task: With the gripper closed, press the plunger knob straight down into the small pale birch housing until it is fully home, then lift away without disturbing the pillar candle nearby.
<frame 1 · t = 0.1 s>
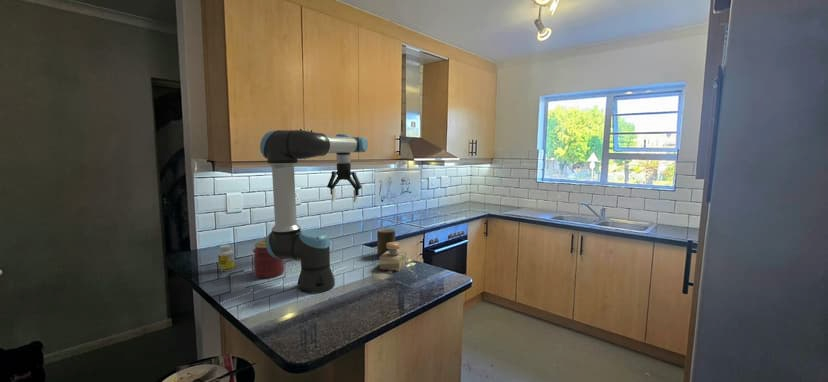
hand: (344, 201, 193), 28 cm above the counter, tool pointing down, fingers open, 13 cm apart
pillar candle: (386, 255, 188), on the counter
canister: (269, 273, 161), on the counter
knob: (392, 251, 169), point 8 cm above the counter, slide at 0.0 cm
pill bottle: (227, 270, 166), on the counter
housing: (393, 266, 170), on the counter
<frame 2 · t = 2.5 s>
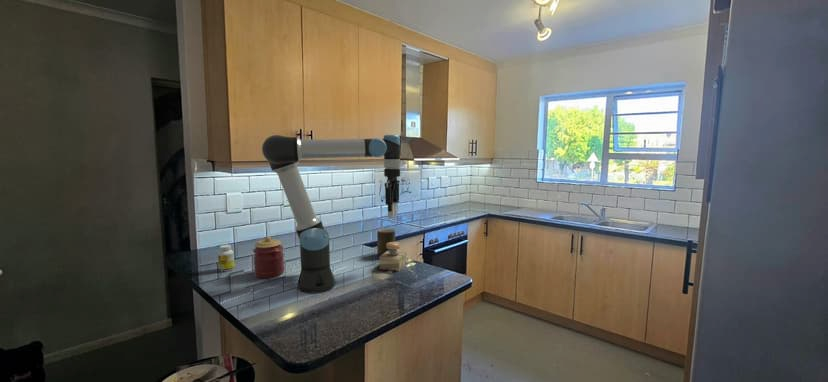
hand: (392, 216, 166), 25 cm above the counter, tool pointing down, fingers open, 4 cm apart
nothing on the counter moved.
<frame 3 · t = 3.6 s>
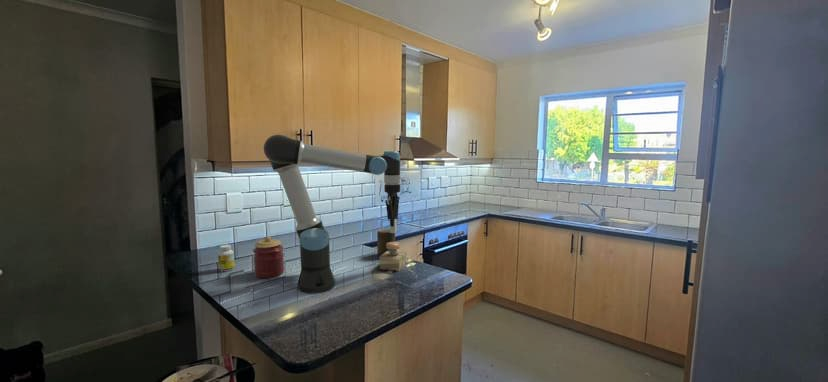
hand: (393, 232, 167), 17 cm above the counter, tool pointing down, fingers closed
nothing on the counter moved.
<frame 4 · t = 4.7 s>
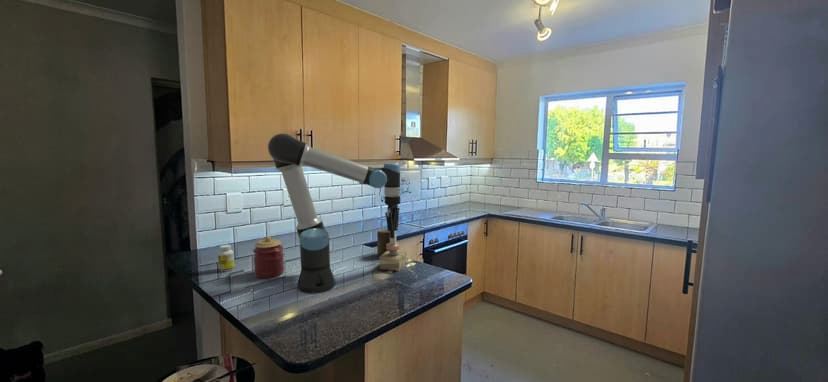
hand: (393, 243, 168), 11 cm above the counter, tool pointing down, fingers closed
knob: (392, 252, 169), point 7 cm above the counter, slide at 0.4 cm, touching gripper
everything else where it was.
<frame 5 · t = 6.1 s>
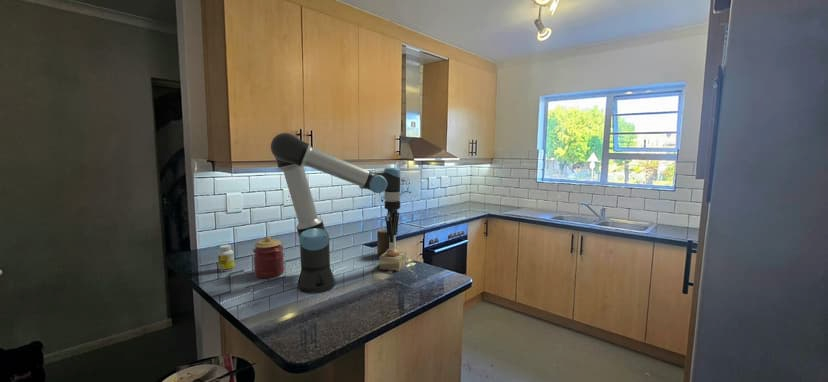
hand: (392, 248, 168), 9 cm above the counter, tool pointing down, fingers closed
knob: (393, 257, 169), point 4 cm above the counter, slide at 3.3 cm
everything else where it was.
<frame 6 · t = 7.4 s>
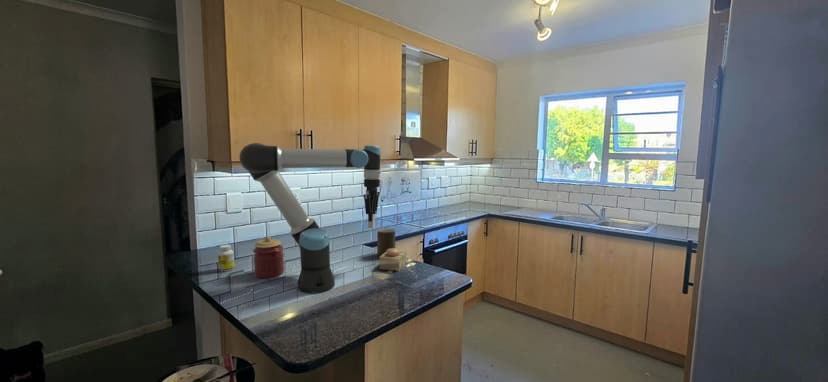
hand: (371, 227, 166), 20 cm above the counter, tool pointing down, fingers closed
nothing on the counter moved.
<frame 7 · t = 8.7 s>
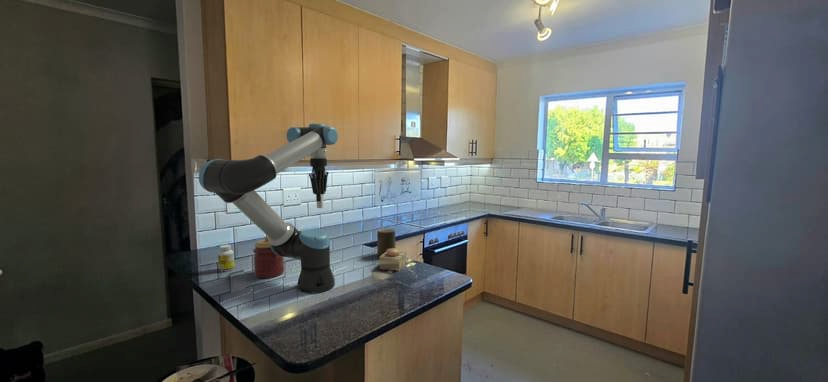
hand: (320, 207, 164), 29 cm above the counter, tool pointing down, fingers closed
nothing on the counter moved.
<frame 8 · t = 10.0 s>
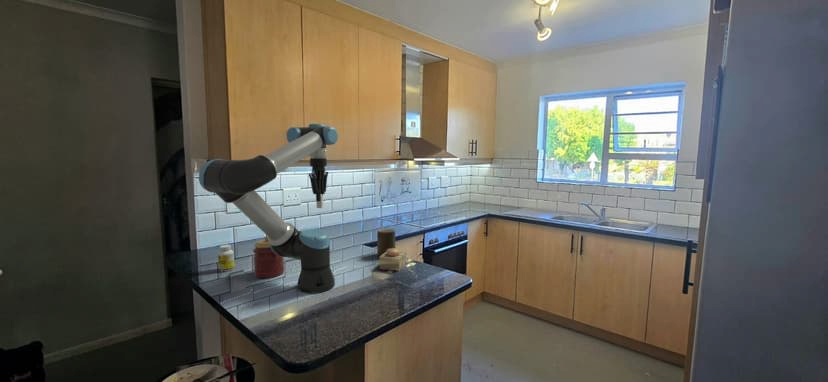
hand: (320, 207, 164), 29 cm above the counter, tool pointing down, fingers closed
nothing on the counter moved.
at the end: knob slide at 3.3 cm; the gripper is holding nothing; pillar candle moved 0.3 cm from its start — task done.
